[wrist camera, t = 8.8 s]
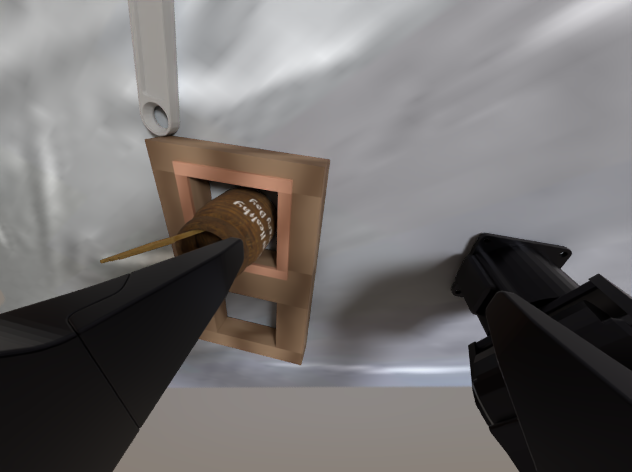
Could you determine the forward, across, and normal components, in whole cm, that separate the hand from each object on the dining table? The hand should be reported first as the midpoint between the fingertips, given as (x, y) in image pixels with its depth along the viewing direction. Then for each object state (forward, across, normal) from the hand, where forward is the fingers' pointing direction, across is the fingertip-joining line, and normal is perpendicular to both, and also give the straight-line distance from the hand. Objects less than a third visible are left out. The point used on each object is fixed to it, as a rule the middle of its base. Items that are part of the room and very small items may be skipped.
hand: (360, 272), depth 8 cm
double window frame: (+12, +10, +11) cm, 19 cm away
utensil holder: (+12, +10, +5) cm, 16 cm away
